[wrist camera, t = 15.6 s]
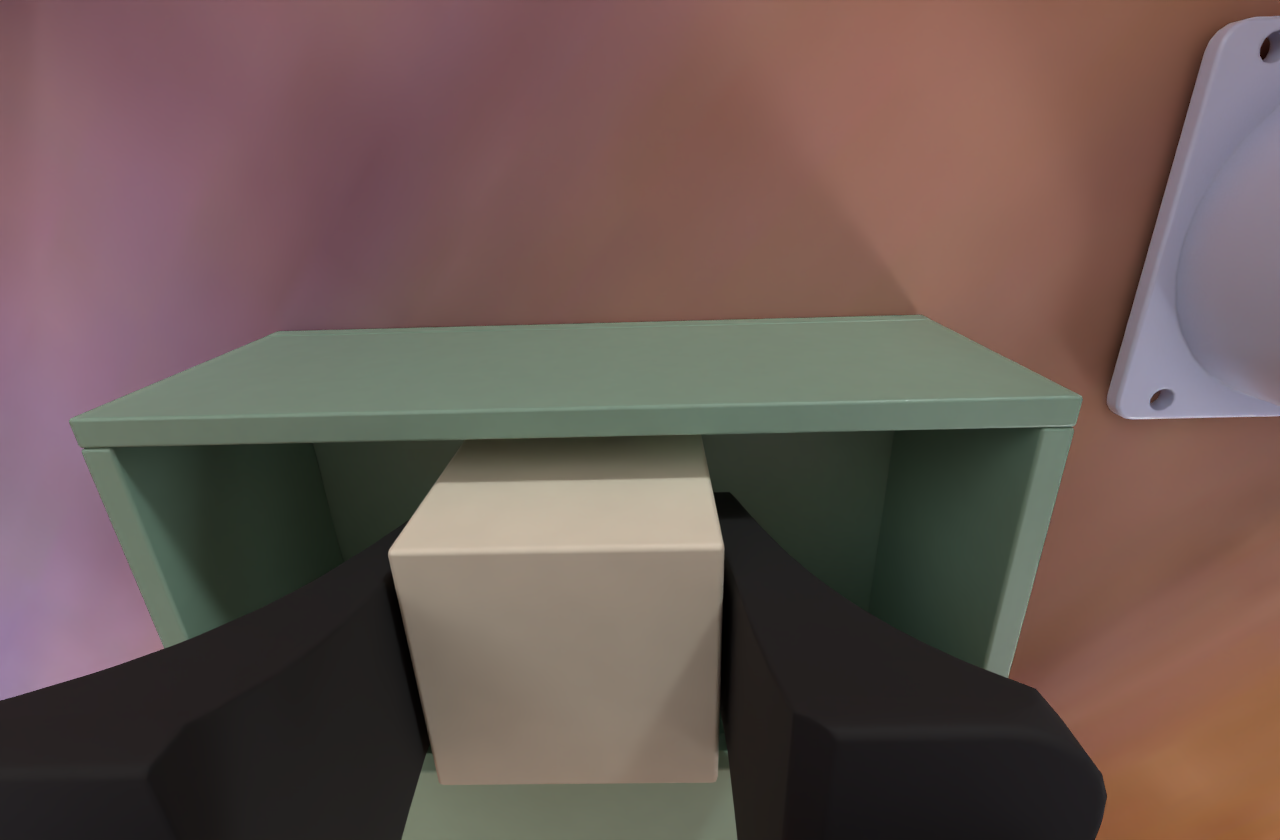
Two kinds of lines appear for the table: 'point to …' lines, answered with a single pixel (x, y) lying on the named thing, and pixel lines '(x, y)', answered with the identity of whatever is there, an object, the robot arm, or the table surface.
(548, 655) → the block
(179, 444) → the box
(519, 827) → the flap
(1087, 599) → the table surface
